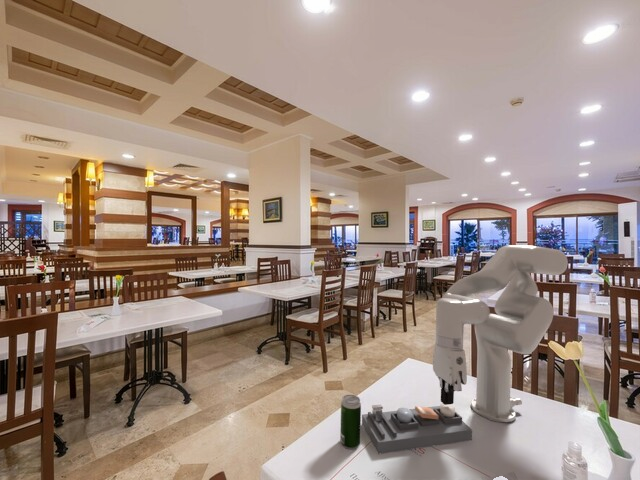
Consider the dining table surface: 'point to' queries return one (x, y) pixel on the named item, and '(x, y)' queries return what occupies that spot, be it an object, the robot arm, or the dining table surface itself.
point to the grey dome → (404, 415)
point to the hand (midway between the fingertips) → (446, 402)
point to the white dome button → (447, 410)
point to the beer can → (350, 422)
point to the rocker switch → (426, 412)
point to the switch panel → (414, 431)
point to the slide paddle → (377, 412)
